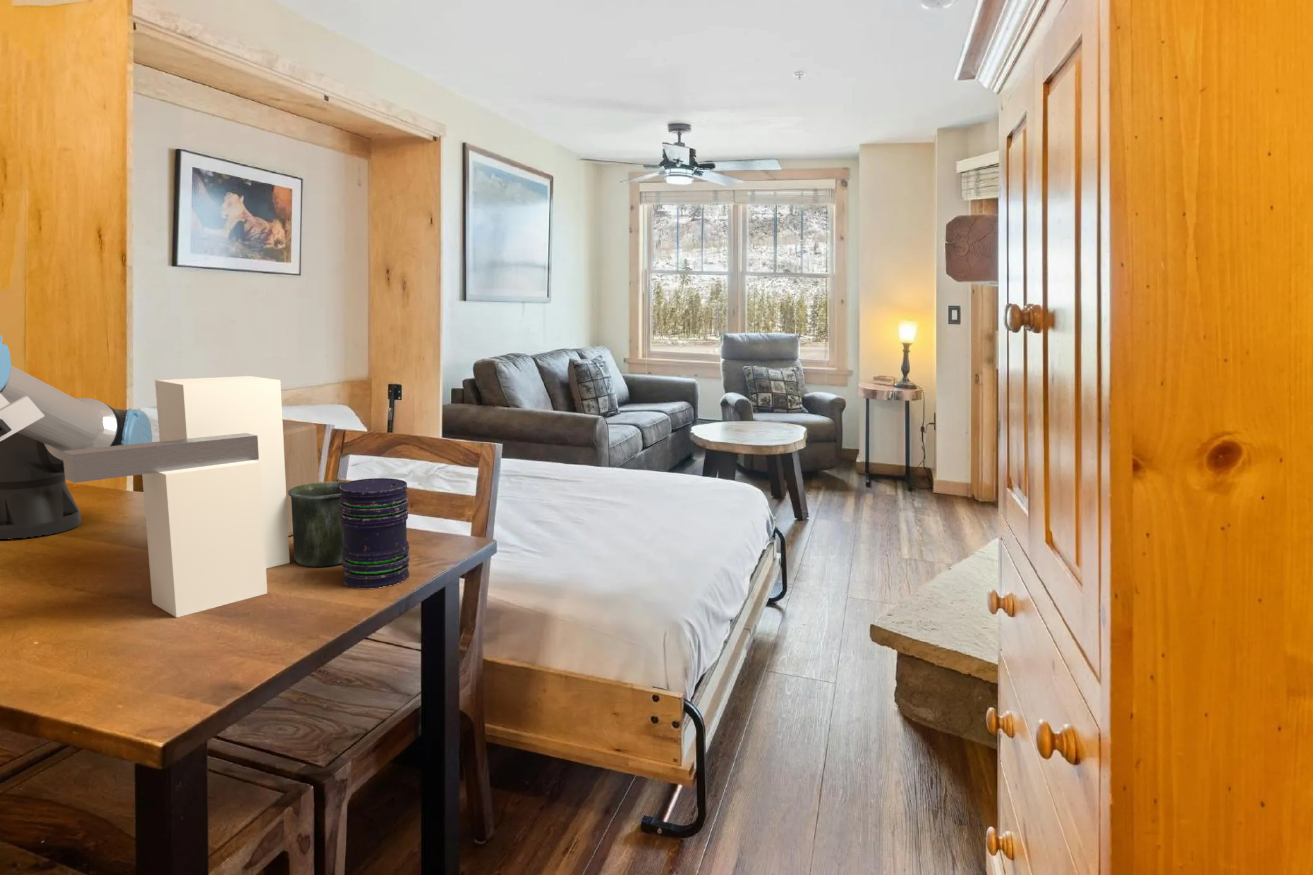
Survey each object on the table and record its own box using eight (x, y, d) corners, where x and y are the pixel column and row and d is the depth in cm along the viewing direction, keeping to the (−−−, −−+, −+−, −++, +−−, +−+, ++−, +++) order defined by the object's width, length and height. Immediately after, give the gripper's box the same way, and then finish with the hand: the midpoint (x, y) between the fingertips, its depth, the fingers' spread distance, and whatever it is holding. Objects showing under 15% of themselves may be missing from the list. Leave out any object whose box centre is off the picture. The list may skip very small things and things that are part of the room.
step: (152, 603, 106) (141, 466, 103) (241, 581, 115) (233, 455, 112) (176, 617, 101) (165, 474, 98) (267, 593, 110) (259, 462, 107)
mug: (276, 561, 125) (272, 490, 123) (349, 540, 137) (346, 475, 135) (321, 573, 120) (318, 499, 118) (392, 549, 132) (390, 482, 131)
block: (288, 538, 137) (282, 429, 134) (240, 534, 139) (233, 426, 136) (323, 524, 147) (318, 422, 144) (277, 520, 149) (272, 419, 146)
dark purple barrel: (335, 590, 112) (331, 492, 110) (350, 569, 122) (346, 478, 120) (405, 588, 114) (402, 491, 112) (414, 567, 124) (412, 477, 121)
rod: (65, 478, 94) (62, 451, 94) (247, 456, 112) (246, 432, 111) (74, 482, 92) (71, 454, 92) (258, 459, 109) (257, 435, 109)
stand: (169, 570, 119) (155, 380, 114) (260, 550, 130) (250, 376, 125) (197, 585, 113) (183, 384, 108) (289, 562, 124) (280, 380, 120)
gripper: (-186, 522, 86) (10, 413, 99) (-149, 573, 71) (75, 438, 84) (-247, 471, 82) (-35, 365, 94) (-221, 515, 67) (26, 382, 80)
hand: (17, 399), depth 89 cm, fingers open, 13 cm apart
